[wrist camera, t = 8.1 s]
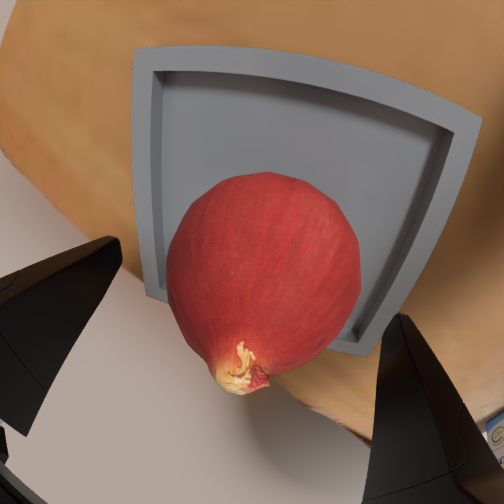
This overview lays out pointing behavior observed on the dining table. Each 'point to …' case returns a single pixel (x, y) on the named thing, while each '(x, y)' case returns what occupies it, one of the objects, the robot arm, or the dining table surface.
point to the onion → (261, 277)
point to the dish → (299, 156)
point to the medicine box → (496, 436)
